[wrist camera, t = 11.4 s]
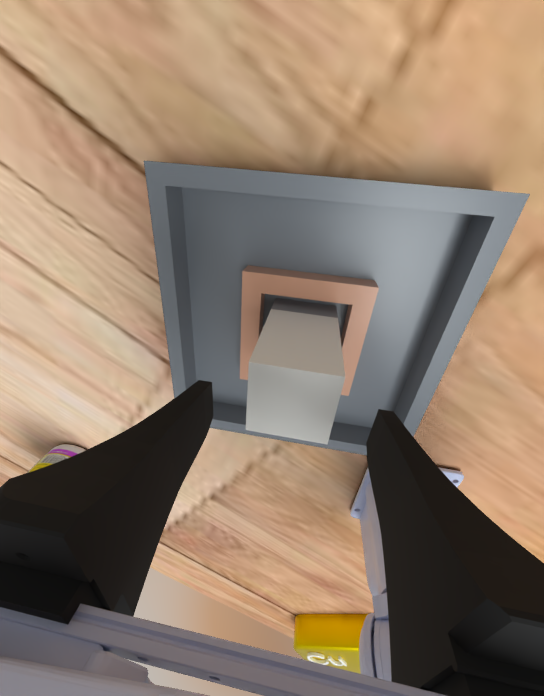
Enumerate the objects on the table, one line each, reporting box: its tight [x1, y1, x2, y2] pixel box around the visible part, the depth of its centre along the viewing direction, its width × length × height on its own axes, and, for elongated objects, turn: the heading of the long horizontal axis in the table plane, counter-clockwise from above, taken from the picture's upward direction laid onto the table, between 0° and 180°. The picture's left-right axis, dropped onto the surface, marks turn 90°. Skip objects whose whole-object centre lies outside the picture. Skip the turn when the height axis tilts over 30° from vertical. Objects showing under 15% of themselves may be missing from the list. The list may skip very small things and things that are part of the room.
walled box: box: [144, 161, 530, 455], centre depth 19 cm, size 18×18×3 cm
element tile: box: [294, 614, 368, 674], centre depth 45 cm, size 15×15×5 cm
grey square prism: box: [246, 298, 345, 444], centre depth 16 cm, size 4×4×8 cm
